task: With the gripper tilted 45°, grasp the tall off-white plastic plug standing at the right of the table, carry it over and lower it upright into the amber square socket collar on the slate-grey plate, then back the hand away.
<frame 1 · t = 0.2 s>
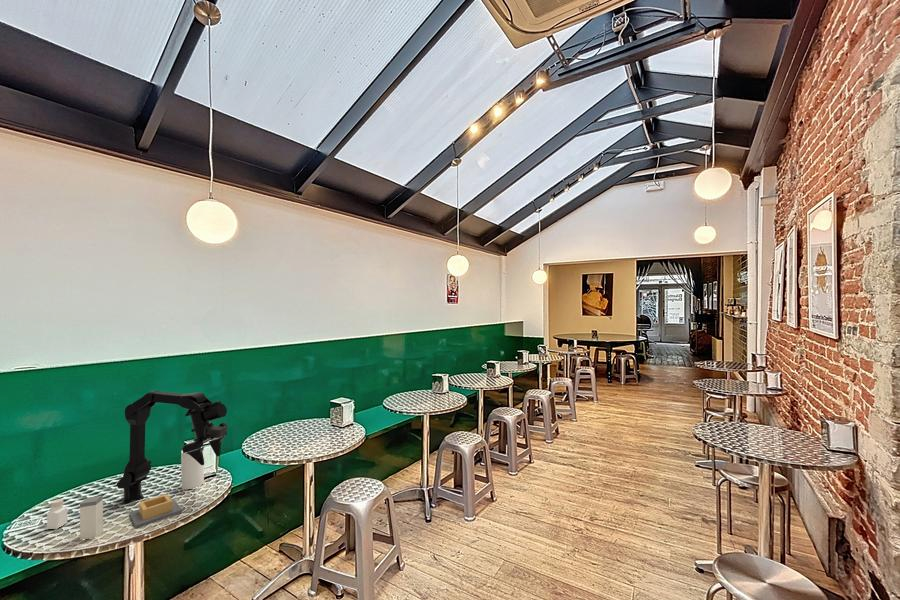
hand: (210, 460, 158), 15 cm above the table, tool pointing down, fingers open, 9 cm apart
plug: (91, 536, 133), on the table
socket plate: (155, 513, 147), on the table
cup: (193, 486, 170), on the table
pepper shaker: (57, 527, 140), on the table
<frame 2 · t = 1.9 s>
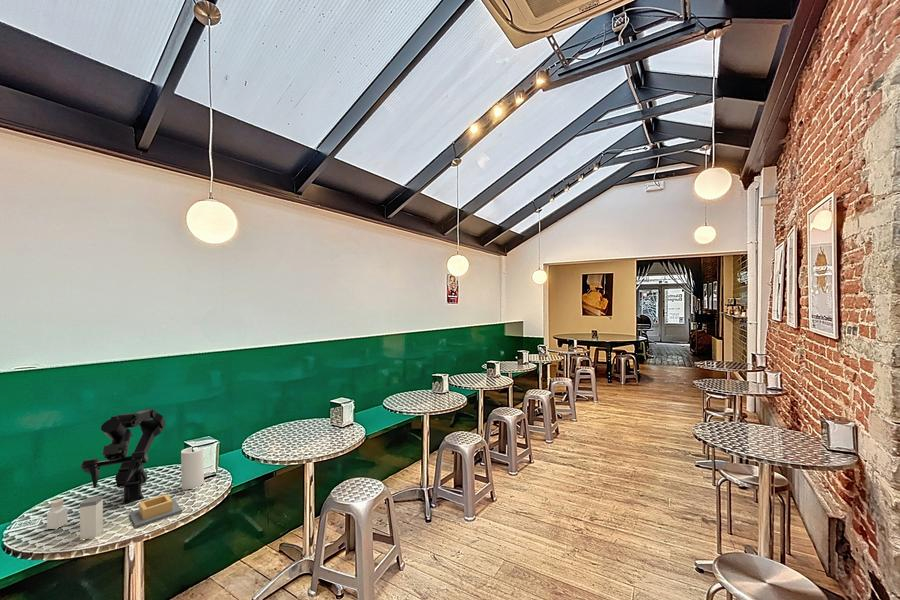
hand: (110, 484, 141), 14 cm above the table, tool tilted 40°, fingers open, 9 cm apart
nothing on the table moved.
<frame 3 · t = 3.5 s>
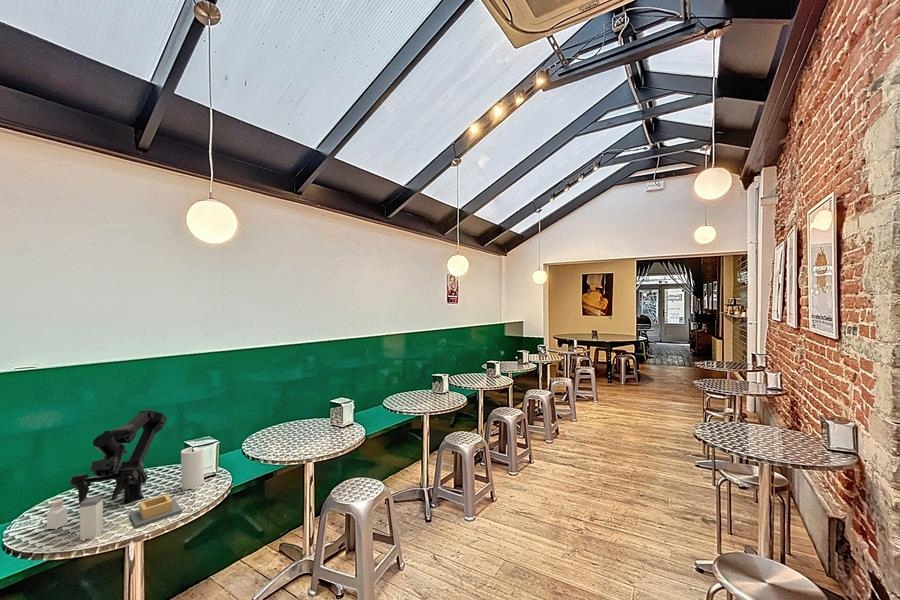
hand: (96, 502, 136), 10 cm above the table, tool tilted 45°, fingers open, 9 cm apart
nothing on the table moved.
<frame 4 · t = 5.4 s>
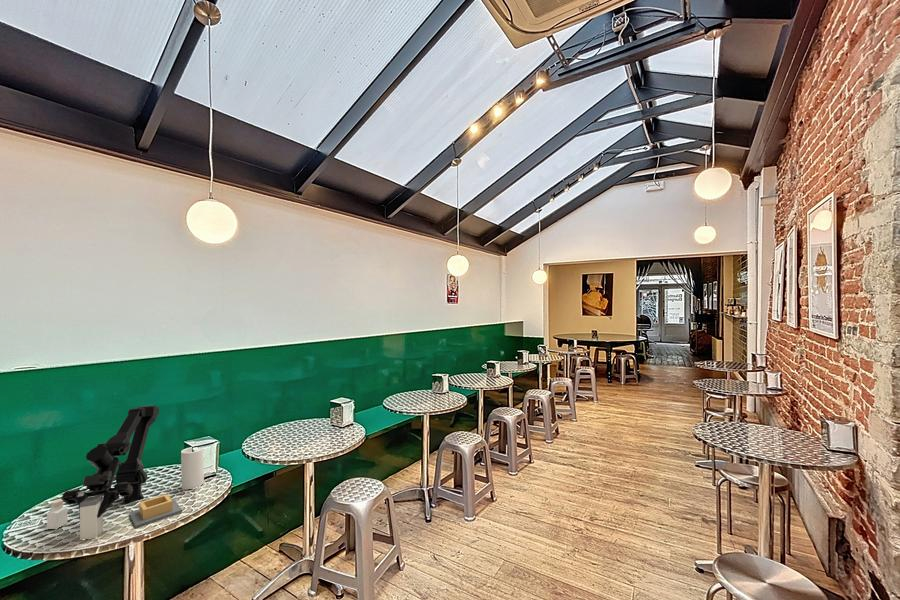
hand: (89, 518, 132), 7 cm above the table, tool tilted 45°, fingers closed on plug, 4 cm apart
plug: (91, 536, 133), on the table, touching gripper
everything else where it was.
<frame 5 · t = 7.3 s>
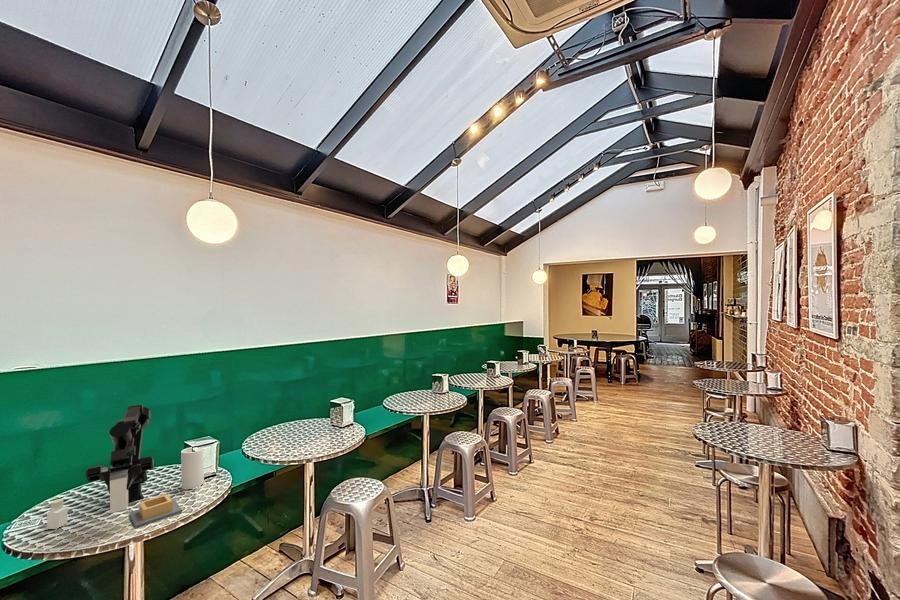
hand: (118, 491, 137), 14 cm above the table, tool tilted 45°, fingers closed on plug, 4 cm apart
plug: (119, 508, 138), point 7 cm above the table, touching gripper
everything else where it was.
when the fingers open (9 cm above the table, at t = 9.6 s): plug drops 2 cm, resting on socket plate.
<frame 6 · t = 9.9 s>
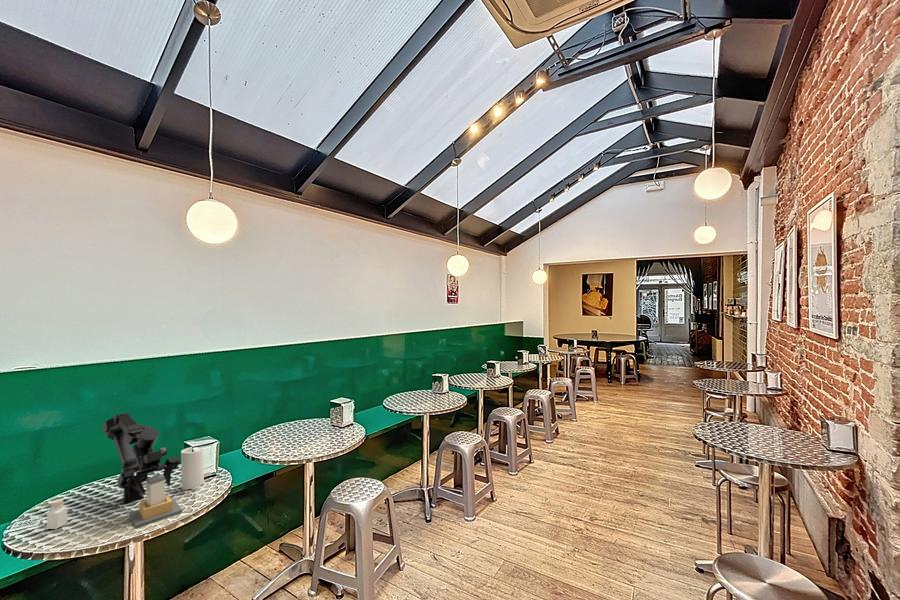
hand: (157, 489, 146), 9 cm above the table, tool tilted 45°, fingers open, 8 cm apart
plug: (155, 511, 147), point 1 cm above the table, touching socket plate
everything else where it was.
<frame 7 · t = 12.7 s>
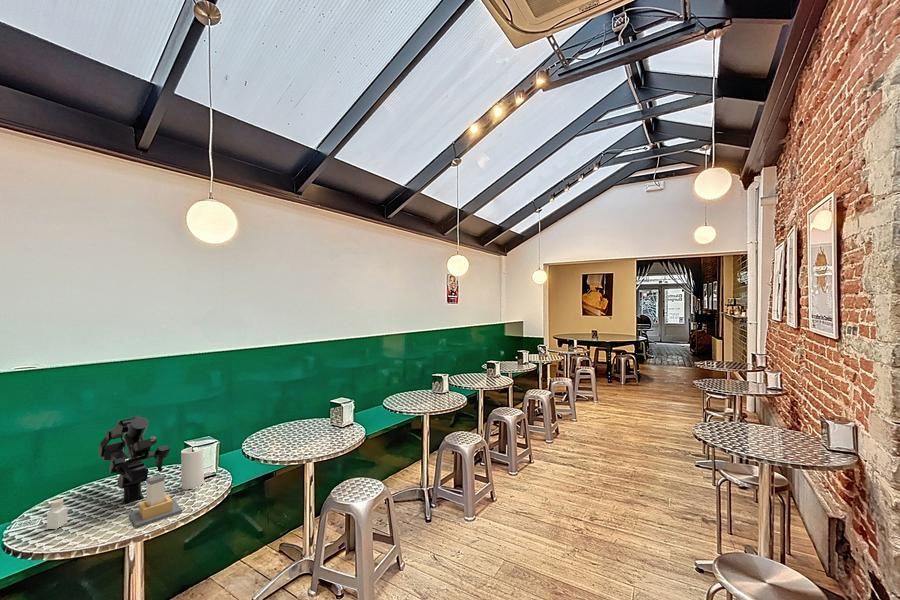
hand: (147, 476, 152), 12 cm above the table, tool tilted 45°, fingers open, 9 cm apart
nothing on the table moved.
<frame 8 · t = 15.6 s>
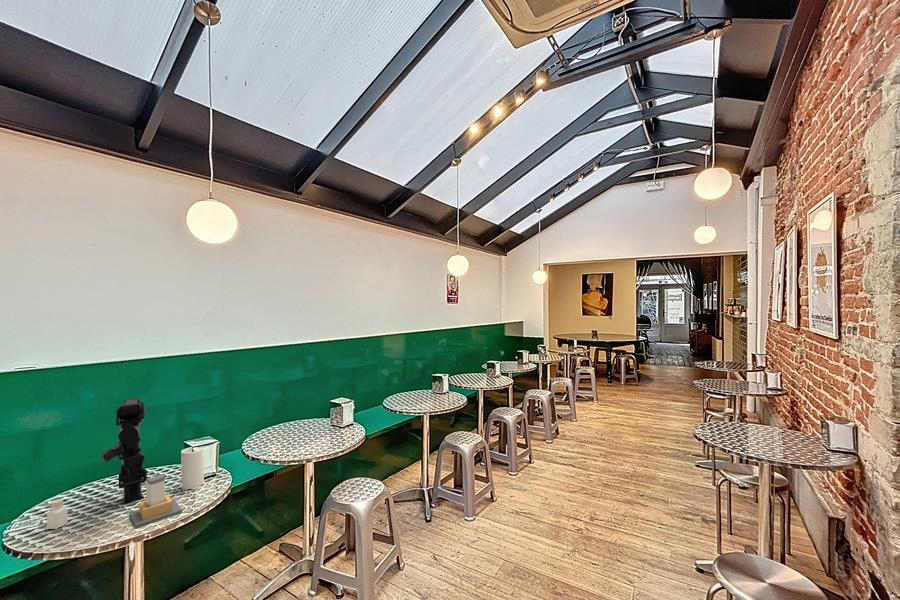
hand: (130, 476, 150), 13 cm above the table, tool pointing down, fingers open, 9 cm apart
nothing on the table moved.
at the end: plug 0.1 cm off-centre on the socket plate, point 1.0 cm above the socket plate's base; plug tilted 0°; the gripper is holding nothing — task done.
